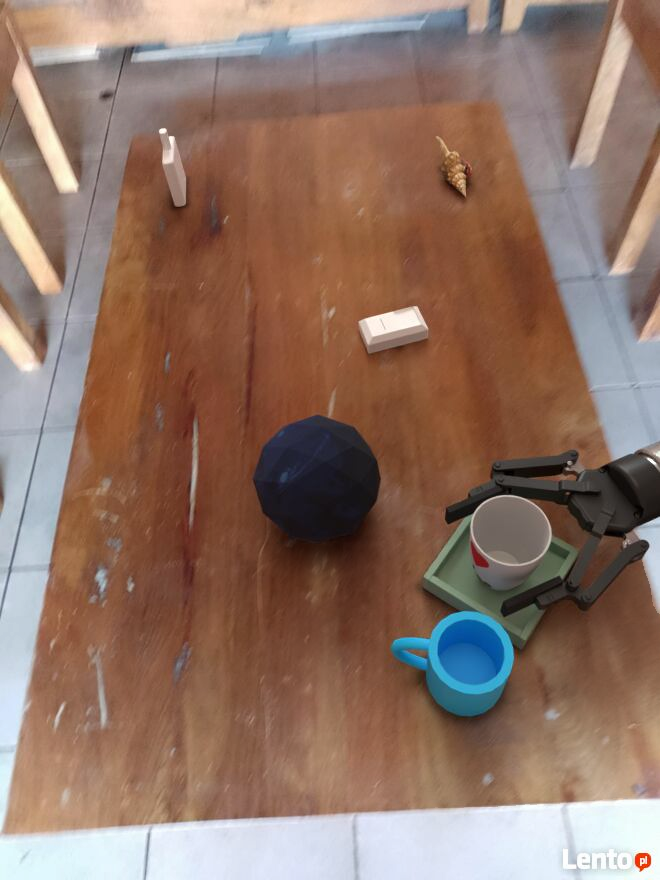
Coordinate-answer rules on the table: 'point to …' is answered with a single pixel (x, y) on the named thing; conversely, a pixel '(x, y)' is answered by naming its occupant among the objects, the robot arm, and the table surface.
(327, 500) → the decorative orb
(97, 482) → the table surface
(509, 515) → the cup
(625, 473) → the robot arm
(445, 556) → the tray
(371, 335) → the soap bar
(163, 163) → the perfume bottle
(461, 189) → the spiral snail shell
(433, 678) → the mug
